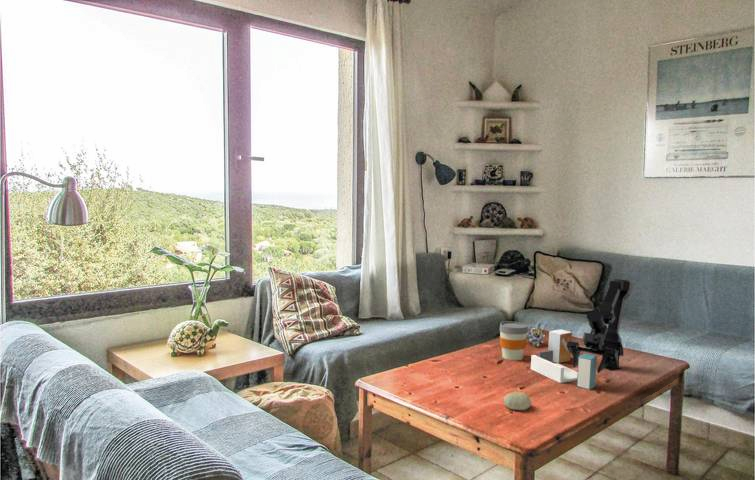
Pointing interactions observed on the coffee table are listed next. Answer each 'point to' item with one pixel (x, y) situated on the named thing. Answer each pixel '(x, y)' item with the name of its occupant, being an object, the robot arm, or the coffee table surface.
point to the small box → (559, 345)
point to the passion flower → (534, 335)
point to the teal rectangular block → (586, 371)
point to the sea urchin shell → (517, 401)
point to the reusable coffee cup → (513, 339)
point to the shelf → (552, 367)
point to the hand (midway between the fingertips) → (585, 369)
